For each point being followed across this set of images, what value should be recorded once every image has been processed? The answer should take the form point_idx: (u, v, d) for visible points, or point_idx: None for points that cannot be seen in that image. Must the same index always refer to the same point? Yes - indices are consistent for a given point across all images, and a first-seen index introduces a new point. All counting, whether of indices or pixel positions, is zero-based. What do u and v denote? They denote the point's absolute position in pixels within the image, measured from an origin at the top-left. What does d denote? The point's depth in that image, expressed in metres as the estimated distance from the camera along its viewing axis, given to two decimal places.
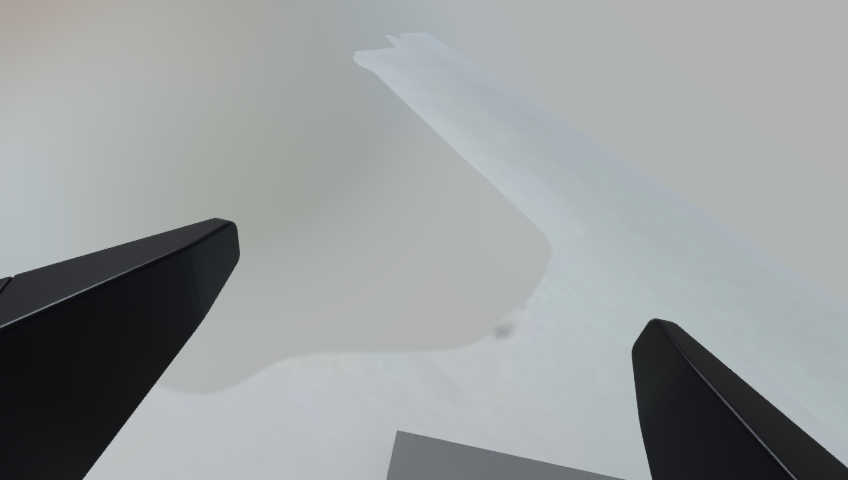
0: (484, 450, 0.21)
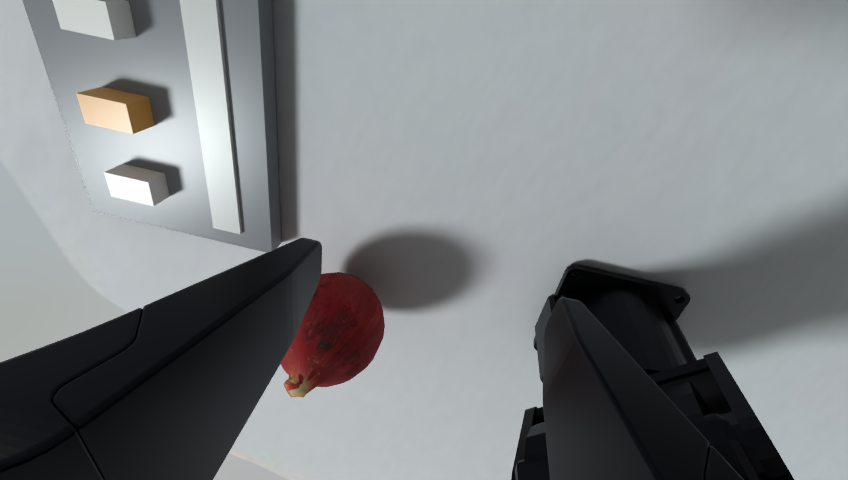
0: (68, 133, 0.21)
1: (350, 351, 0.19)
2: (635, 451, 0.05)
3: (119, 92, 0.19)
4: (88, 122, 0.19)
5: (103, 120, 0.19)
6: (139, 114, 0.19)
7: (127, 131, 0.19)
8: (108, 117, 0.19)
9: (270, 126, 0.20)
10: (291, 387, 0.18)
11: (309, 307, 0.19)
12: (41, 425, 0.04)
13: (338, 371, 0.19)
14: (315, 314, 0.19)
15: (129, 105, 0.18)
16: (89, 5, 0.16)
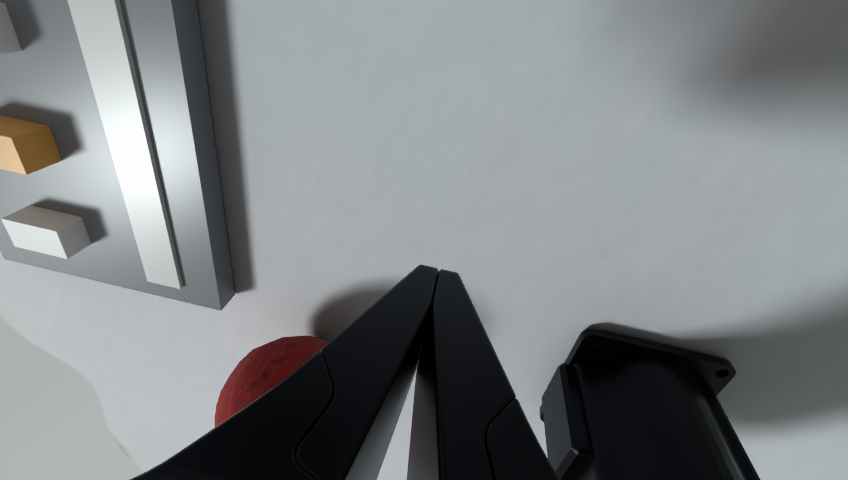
0: None
1: None
2: (435, 402, 0.05)
3: (10, 120, 0.15)
4: None
5: None
6: (35, 149, 0.15)
7: (19, 171, 0.15)
8: None
9: (206, 162, 0.15)
10: None
11: (257, 392, 0.15)
12: None
13: None
14: None
15: (16, 139, 0.14)
16: None
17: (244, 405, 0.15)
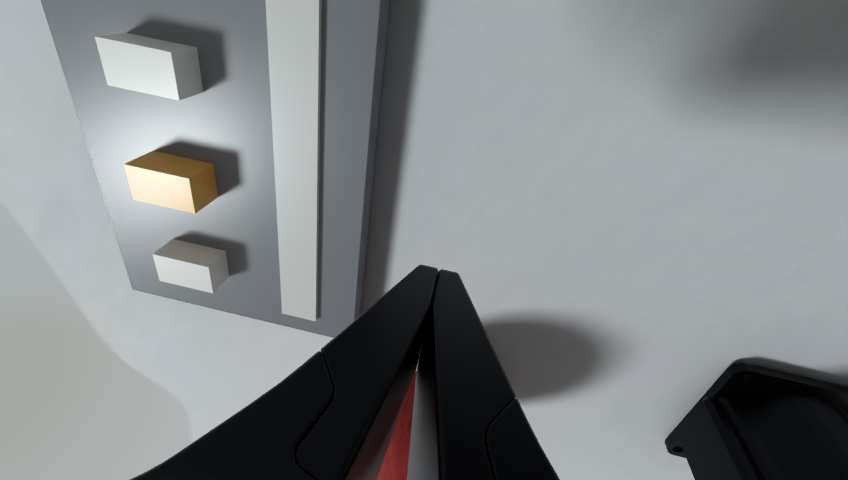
0: (106, 203, 0.17)
1: None
2: (434, 402, 0.05)
3: (176, 158, 0.15)
4: (137, 198, 0.15)
5: (157, 196, 0.14)
6: (202, 187, 0.15)
7: (187, 210, 0.14)
8: (163, 194, 0.14)
9: (367, 199, 0.15)
10: None
11: None
12: None
13: None
14: None
15: (192, 179, 0.14)
16: (148, 56, 0.12)
17: (407, 445, 0.15)
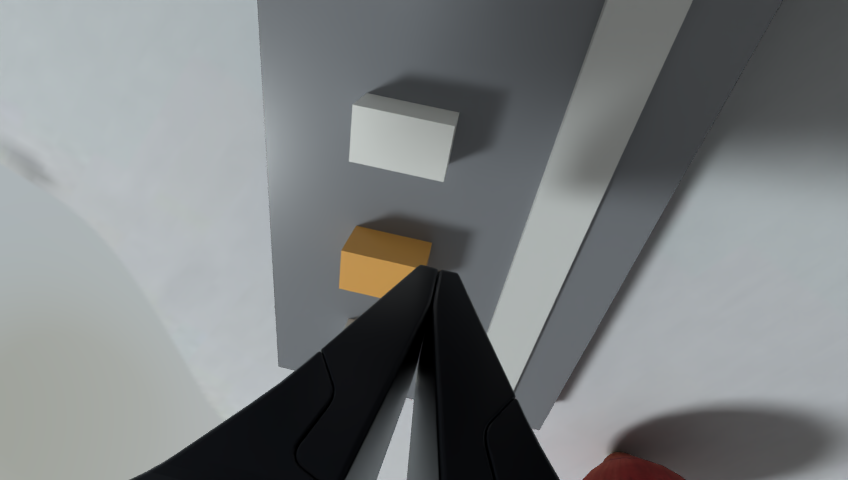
0: (275, 278, 0.14)
1: None
2: (435, 402, 0.05)
3: (389, 237, 0.12)
4: (345, 287, 0.12)
5: (373, 287, 0.12)
6: None
7: None
8: (383, 284, 0.12)
9: None
10: None
11: None
12: None
13: None
14: None
15: None
16: (420, 130, 0.09)
17: None
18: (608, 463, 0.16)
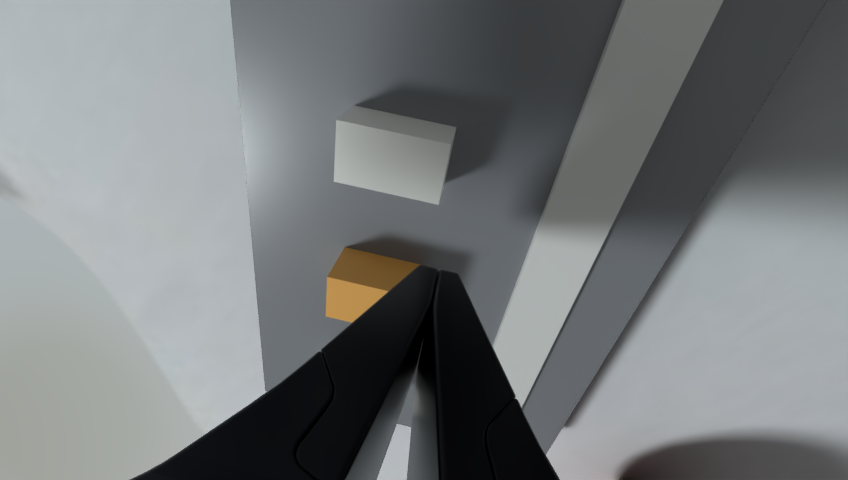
0: (259, 301, 0.13)
1: None
2: (435, 402, 0.05)
3: (380, 260, 0.11)
4: (332, 315, 0.11)
5: None
6: None
7: None
8: None
9: None
10: None
11: None
12: None
13: None
14: None
15: None
16: (412, 148, 0.08)
17: None
18: None
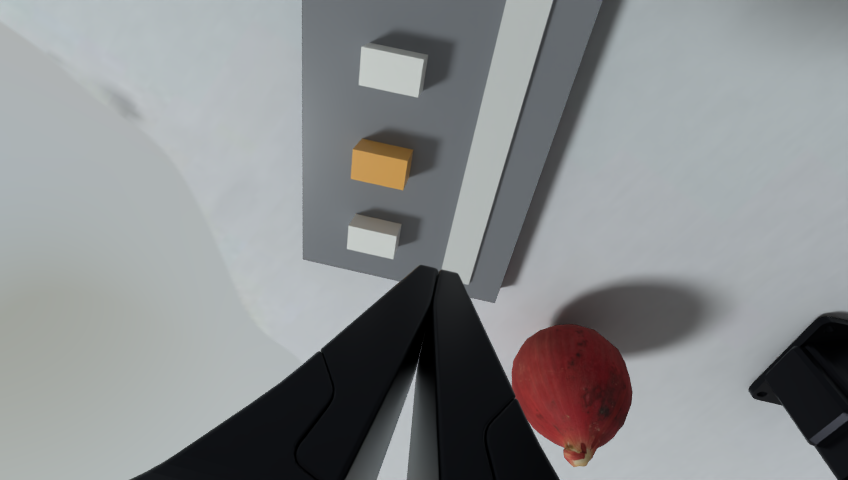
0: (303, 183, 0.20)
1: (622, 415, 0.19)
2: (435, 402, 0.05)
3: (384, 145, 0.18)
4: (355, 177, 0.18)
5: (373, 176, 0.18)
6: (408, 169, 0.18)
7: (397, 187, 0.18)
8: (380, 173, 0.17)
9: None
10: (575, 457, 0.18)
11: (578, 369, 0.19)
12: None
13: (611, 437, 0.18)
14: (588, 377, 0.18)
15: (408, 161, 0.17)
16: (402, 62, 0.15)
17: (570, 380, 0.18)
18: None
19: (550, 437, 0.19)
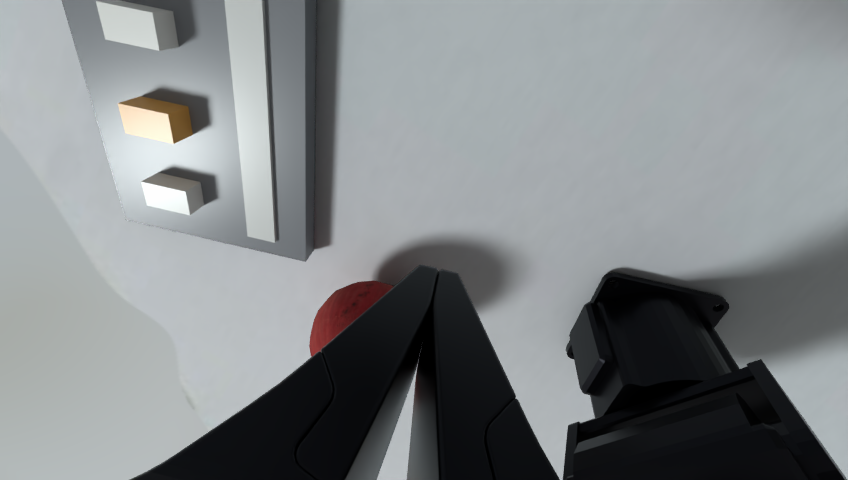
0: (104, 142, 0.21)
1: None
2: (435, 402, 0.05)
3: (159, 102, 0.19)
4: (128, 132, 0.19)
5: (144, 130, 0.19)
6: (179, 124, 0.19)
7: (168, 141, 0.19)
8: (148, 127, 0.18)
9: (309, 135, 0.19)
10: None
11: (349, 317, 0.19)
12: None
13: None
14: None
15: (170, 115, 0.18)
16: (135, 16, 0.16)
17: (340, 326, 0.19)
18: None
19: None
